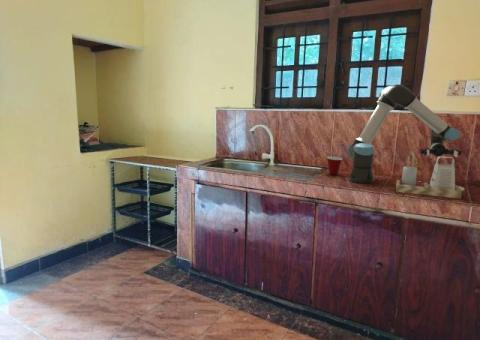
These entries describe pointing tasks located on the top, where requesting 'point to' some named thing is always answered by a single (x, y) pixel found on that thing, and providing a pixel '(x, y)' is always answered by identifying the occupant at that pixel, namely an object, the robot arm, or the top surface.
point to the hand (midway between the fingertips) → (442, 154)
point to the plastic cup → (334, 164)
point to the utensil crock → (409, 173)
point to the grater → (443, 176)
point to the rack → (429, 190)
